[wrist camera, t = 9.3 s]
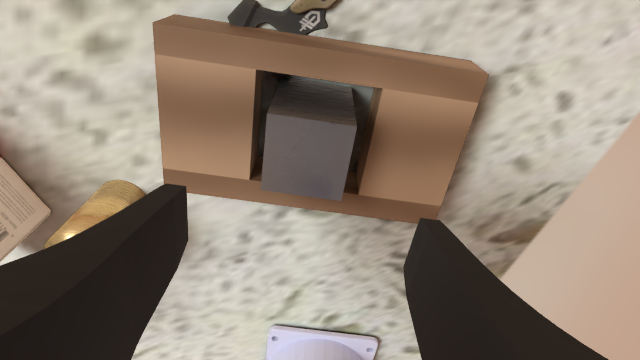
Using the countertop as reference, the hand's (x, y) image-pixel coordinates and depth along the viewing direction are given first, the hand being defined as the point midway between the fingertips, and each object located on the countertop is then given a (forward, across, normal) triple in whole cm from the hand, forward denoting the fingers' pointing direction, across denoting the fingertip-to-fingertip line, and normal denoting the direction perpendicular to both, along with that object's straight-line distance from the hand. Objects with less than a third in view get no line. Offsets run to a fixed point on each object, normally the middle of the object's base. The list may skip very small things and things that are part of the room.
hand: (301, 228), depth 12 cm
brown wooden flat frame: (+9, 0, 0) cm, 9 cm away
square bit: (+9, 0, 0) cm, 9 cm away
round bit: (+9, +10, +7) cm, 16 cm away
